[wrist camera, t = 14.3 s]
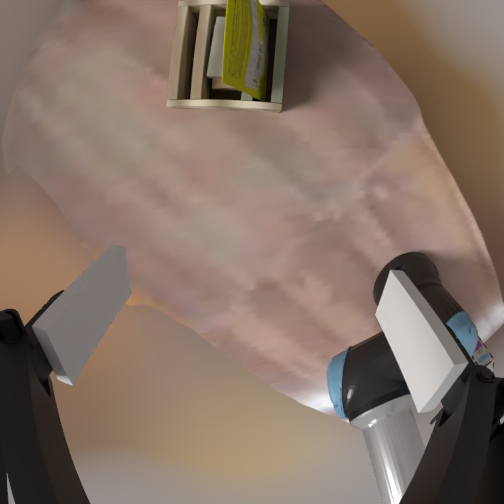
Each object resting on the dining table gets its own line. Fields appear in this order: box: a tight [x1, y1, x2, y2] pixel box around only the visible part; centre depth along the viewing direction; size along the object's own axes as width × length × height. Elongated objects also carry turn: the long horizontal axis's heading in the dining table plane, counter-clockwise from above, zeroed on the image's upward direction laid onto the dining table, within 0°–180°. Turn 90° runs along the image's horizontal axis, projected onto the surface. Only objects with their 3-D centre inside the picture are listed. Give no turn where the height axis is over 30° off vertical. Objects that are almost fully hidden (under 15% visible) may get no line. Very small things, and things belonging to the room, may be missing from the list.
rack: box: [167, 0, 290, 113], centre depth 34 cm, size 16×18×6 cm
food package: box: [222, 0, 270, 102], centre depth 28 cm, size 15×1×20 cm, turn 177°
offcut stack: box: [207, 17, 241, 92], centre depth 34 cm, size 5×12×6 cm, turn 176°
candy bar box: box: [471, 336, 494, 372], centre depth 51 cm, size 11×5×16 cm, turn 37°
